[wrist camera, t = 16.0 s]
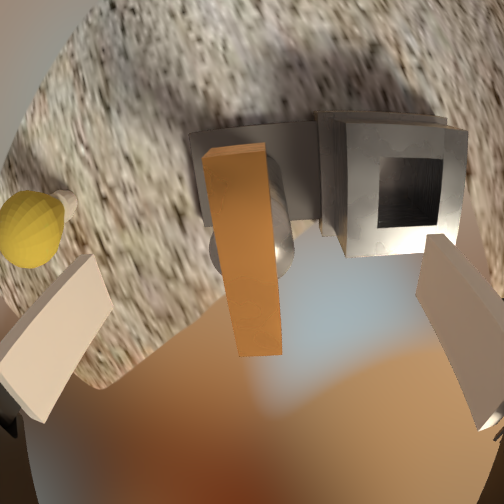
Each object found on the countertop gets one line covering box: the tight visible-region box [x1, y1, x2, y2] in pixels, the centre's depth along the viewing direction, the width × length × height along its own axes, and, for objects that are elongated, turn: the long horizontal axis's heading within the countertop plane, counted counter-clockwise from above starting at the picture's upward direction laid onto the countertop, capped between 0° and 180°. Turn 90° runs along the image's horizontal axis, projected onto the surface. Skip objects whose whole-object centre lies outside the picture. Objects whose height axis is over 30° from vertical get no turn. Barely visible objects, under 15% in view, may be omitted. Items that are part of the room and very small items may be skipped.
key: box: [202, 142, 294, 357], centre depth 17 cm, size 9×4×14 cm, turn 7°
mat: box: [189, 121, 321, 227], centre depth 24 cm, size 10×8×1 cm
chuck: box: [314, 111, 468, 258], centre depth 20 cm, size 11×10×6 cm
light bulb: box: [0, 190, 77, 268], centre depth 22 cm, size 7×7×10 cm
